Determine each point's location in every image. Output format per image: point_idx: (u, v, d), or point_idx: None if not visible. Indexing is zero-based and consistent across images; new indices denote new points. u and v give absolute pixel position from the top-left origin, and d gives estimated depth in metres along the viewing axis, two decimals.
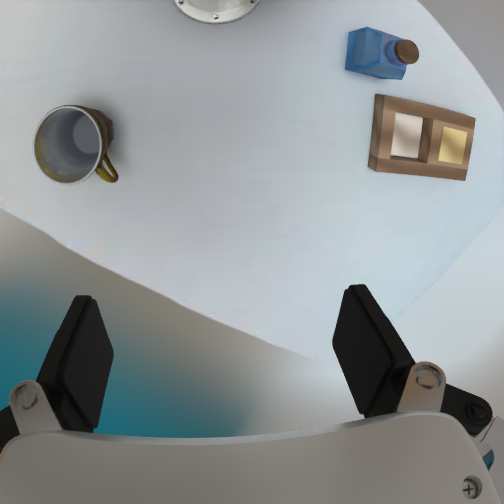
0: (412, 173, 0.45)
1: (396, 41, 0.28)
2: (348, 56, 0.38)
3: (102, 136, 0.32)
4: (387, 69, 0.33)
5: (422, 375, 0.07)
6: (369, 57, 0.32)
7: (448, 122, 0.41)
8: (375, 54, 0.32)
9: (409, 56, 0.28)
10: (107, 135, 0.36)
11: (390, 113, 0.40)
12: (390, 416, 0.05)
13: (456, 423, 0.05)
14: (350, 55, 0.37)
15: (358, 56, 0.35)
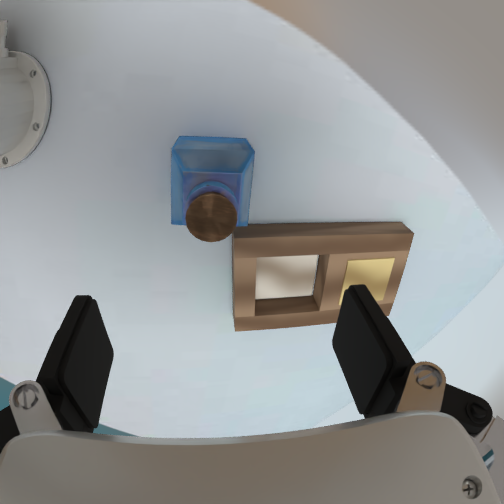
0: (294, 325, 0.37)
1: (194, 194, 0.19)
2: None
3: None
4: None
5: (422, 375, 0.07)
6: (174, 209, 0.24)
7: (359, 252, 0.33)
8: (178, 207, 0.23)
9: (213, 227, 0.19)
10: None
11: (247, 261, 0.31)
12: (390, 416, 0.05)
13: (456, 423, 0.05)
14: None
15: None
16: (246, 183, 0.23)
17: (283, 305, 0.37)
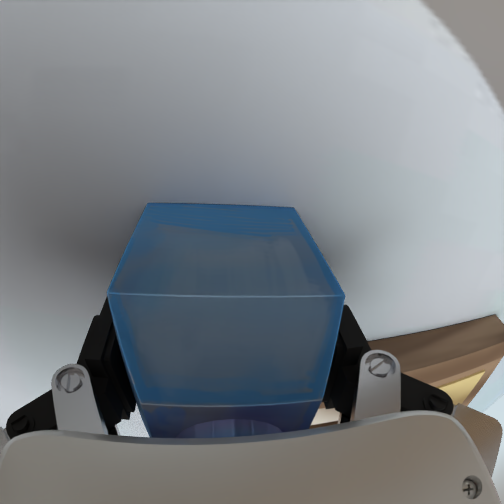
0: None
1: None
2: None
3: None
4: None
5: (374, 364, 0.08)
6: (141, 416, 0.09)
7: (448, 377, 0.18)
8: (149, 432, 0.08)
9: None
10: None
11: None
12: (390, 416, 0.05)
13: (456, 423, 0.05)
14: None
15: None
16: None
17: None
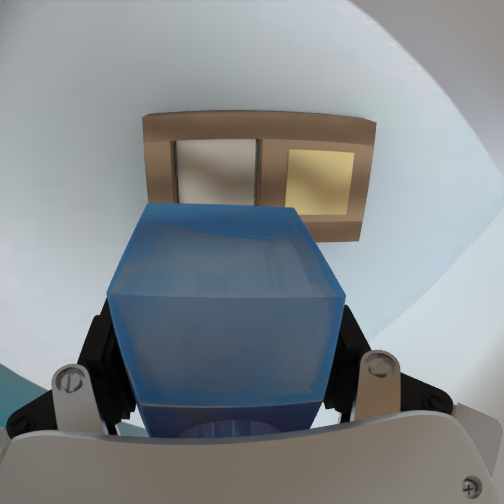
0: None
1: None
2: None
3: None
4: None
5: (374, 364, 0.08)
6: (141, 417, 0.09)
7: (303, 139, 0.25)
8: (148, 433, 0.08)
9: None
10: None
11: (159, 147, 0.24)
12: (390, 416, 0.05)
13: (456, 423, 0.05)
14: None
15: None
16: None
17: None
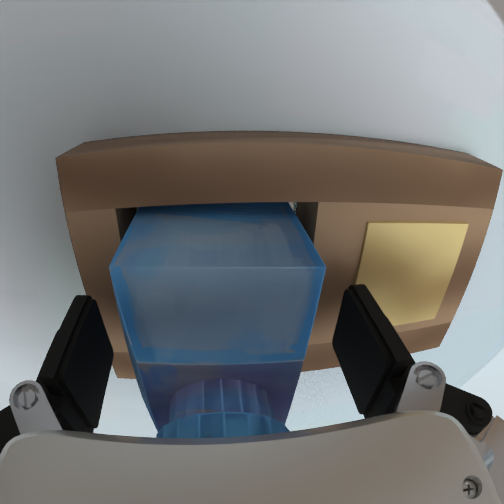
0: None
1: None
2: None
3: None
4: None
5: (422, 375, 0.07)
6: (140, 389, 0.10)
7: (395, 202, 0.12)
8: (146, 401, 0.09)
9: None
10: None
11: (95, 221, 0.11)
12: (390, 416, 0.05)
13: (456, 423, 0.05)
14: None
15: None
16: None
17: None
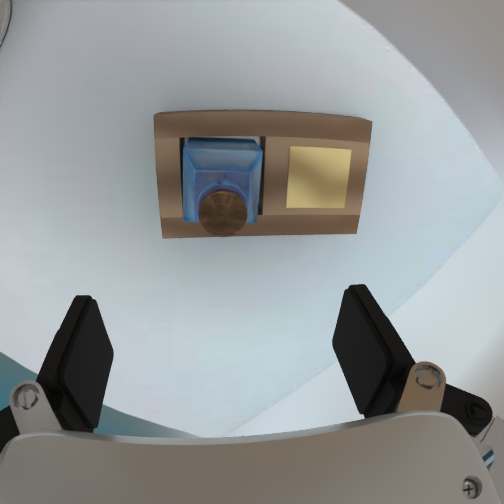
0: None
1: (206, 192, 0.21)
2: None
3: None
4: None
5: (422, 375, 0.07)
6: (186, 207, 0.25)
7: (303, 137, 0.27)
8: (190, 205, 0.24)
9: (225, 223, 0.20)
10: None
11: (169, 143, 0.26)
12: (390, 416, 0.05)
13: (456, 423, 0.05)
14: None
15: None
16: (255, 181, 0.24)
17: None
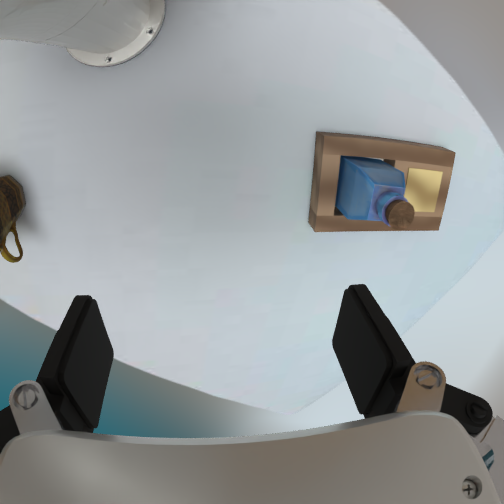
0: (365, 229, 0.40)
1: (389, 200, 0.29)
2: None
3: None
4: (376, 220, 0.34)
5: (422, 375, 0.07)
6: (356, 208, 0.33)
7: (416, 161, 0.36)
8: (363, 207, 0.32)
9: (401, 222, 0.29)
10: (10, 208, 0.30)
11: (333, 158, 0.34)
12: (390, 416, 0.05)
13: (456, 423, 0.05)
14: None
15: (344, 198, 0.35)
16: None
17: None
